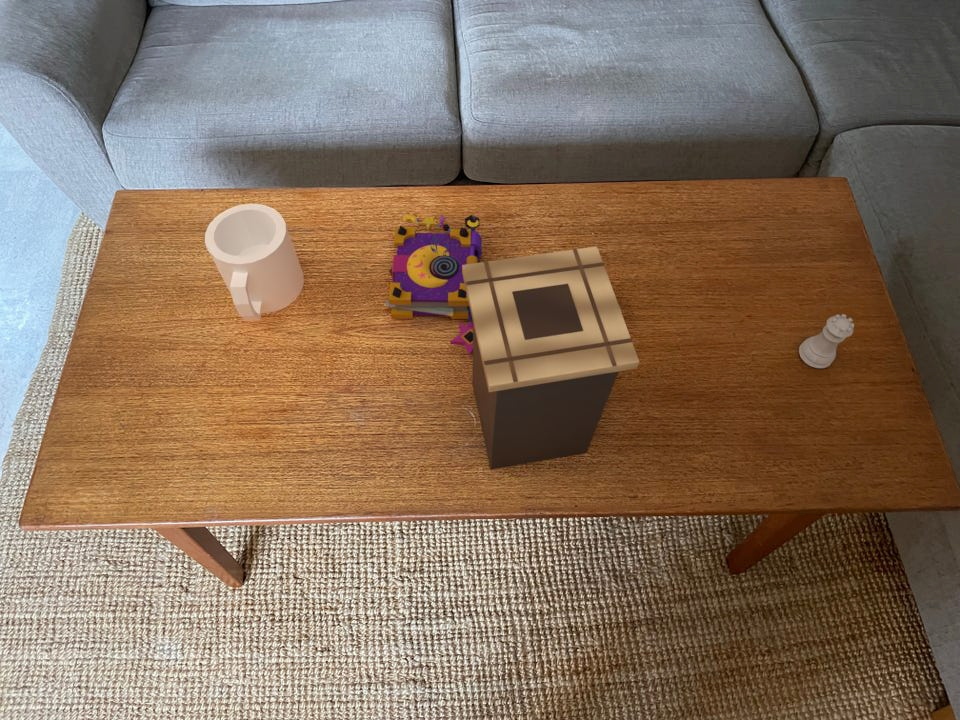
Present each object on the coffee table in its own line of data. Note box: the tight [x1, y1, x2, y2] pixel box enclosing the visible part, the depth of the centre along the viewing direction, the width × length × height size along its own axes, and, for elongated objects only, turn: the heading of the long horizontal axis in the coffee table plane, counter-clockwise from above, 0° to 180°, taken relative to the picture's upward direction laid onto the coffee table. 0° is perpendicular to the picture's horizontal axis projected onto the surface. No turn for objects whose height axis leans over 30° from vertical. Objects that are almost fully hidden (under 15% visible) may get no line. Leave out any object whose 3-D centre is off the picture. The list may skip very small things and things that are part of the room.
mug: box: [204, 203, 305, 322], centre depth 86 cm, size 14×10×11 cm
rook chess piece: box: [798, 313, 855, 369], centre depth 84 cm, size 4×4×8 cm
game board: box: [462, 246, 640, 392], centre depth 62 cm, size 14×14×1 cm
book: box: [382, 214, 483, 357], centre depth 87 cm, size 15×25×12 cm, turn 179°
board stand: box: [472, 323, 620, 470], centre depth 72 cm, size 12×12×22 cm
